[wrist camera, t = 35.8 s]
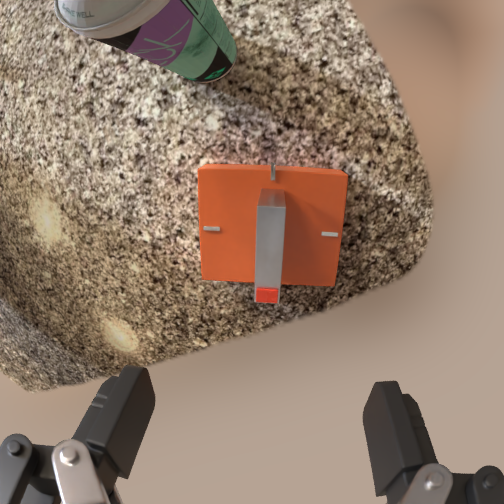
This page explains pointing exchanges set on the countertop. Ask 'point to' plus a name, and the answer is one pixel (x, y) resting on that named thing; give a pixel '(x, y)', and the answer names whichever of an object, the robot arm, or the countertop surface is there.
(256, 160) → the countertop surface
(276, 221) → the gray slab
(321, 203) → the orange flat block
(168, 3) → the spray can
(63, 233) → the countertop surface
